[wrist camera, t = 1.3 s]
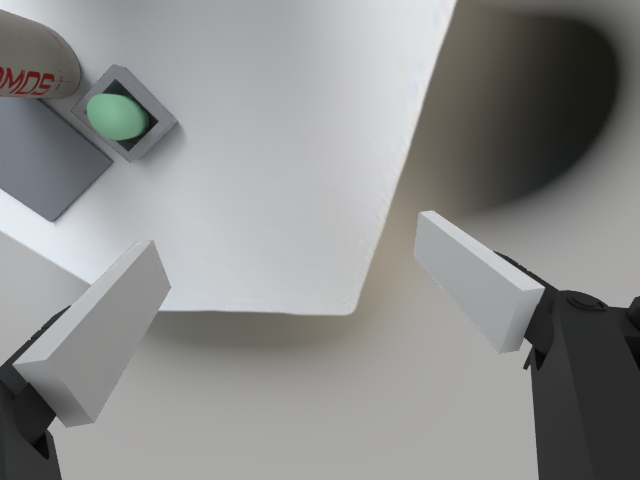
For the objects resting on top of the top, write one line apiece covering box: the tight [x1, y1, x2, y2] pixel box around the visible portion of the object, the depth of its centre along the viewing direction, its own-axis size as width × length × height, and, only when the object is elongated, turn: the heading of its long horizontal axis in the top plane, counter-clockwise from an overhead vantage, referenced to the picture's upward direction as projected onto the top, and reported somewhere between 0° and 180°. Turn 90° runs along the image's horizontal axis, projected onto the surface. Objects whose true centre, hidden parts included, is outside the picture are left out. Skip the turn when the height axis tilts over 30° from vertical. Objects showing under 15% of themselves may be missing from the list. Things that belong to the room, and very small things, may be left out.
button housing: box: [71, 65, 178, 163], centre depth 35 cm, size 8×8×3 cm
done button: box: [87, 94, 149, 140], centre depth 33 cm, size 5×5×4 cm
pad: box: [0, 97, 114, 222], centre depth 36 cm, size 14×14×1 cm
